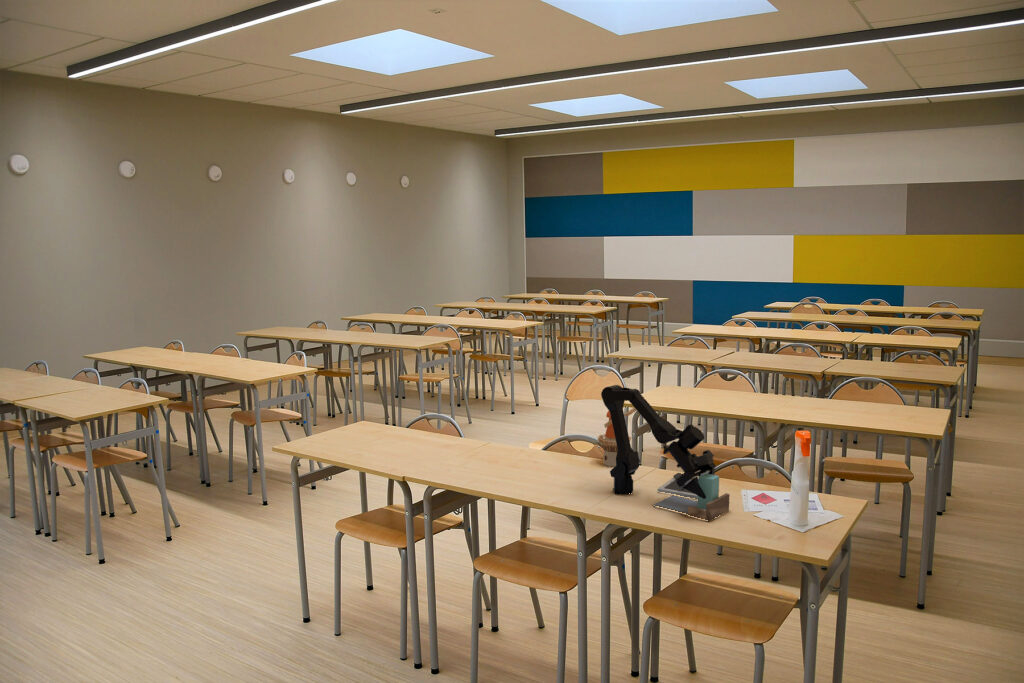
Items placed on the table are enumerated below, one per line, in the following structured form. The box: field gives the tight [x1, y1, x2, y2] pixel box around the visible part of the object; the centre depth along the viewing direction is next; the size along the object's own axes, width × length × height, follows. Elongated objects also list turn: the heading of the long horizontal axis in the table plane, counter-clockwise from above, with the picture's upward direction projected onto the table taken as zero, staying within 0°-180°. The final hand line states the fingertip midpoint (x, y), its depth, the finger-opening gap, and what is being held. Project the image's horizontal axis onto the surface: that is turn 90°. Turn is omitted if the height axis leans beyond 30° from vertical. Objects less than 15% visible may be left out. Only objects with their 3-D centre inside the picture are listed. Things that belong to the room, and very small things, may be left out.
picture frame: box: [657, 472, 699, 500], centre depth 289 cm, size 16×3×21 cm
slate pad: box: [653, 495, 698, 514], centre depth 269 cm, size 13×13×1 cm
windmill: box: [597, 406, 638, 468], centre depth 317 cm, size 17×14×30 cm
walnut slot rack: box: [688, 492, 730, 522], centre depth 261 cm, size 8×14×6 cm, turn 139°
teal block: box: [697, 473, 720, 510], centre depth 261 cm, size 5×5×13 cm
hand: (711, 494), depth 260 cm, fingers open, 9 cm apart
